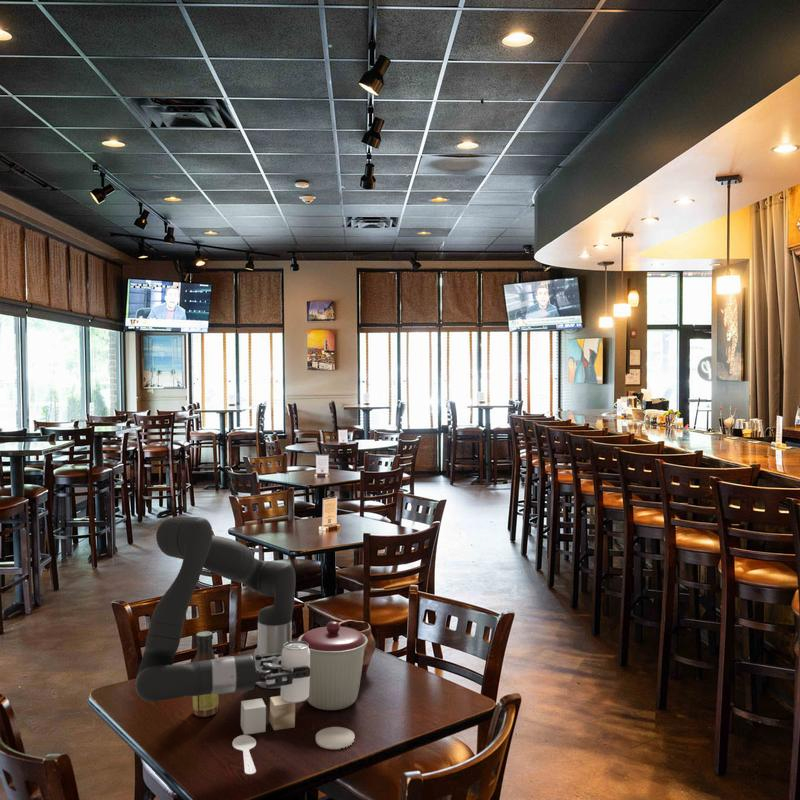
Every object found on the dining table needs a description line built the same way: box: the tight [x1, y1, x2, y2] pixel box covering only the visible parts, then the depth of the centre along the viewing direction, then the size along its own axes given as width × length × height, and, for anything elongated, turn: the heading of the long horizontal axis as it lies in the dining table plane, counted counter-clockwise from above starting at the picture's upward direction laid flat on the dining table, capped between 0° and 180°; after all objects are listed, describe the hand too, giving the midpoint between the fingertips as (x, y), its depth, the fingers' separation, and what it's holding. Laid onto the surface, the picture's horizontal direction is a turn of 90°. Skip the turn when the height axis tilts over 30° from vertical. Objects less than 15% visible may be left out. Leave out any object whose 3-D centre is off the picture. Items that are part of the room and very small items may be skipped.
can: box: [280, 640, 310, 704], centre depth 167 cm, size 6×6×12 cm
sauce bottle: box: [192, 630, 219, 718], centre depth 183 cm, size 7×6×20 cm
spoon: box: [231, 734, 257, 775], centre depth 163 cm, size 5×18×1 cm, turn 18°
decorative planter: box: [338, 619, 376, 676], centre depth 211 cm, size 20×12×14 cm, turn 29°
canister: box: [297, 620, 368, 711], centre depth 191 cm, size 18×18×21 cm
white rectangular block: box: [240, 698, 267, 735], centre depth 176 cm, size 5×5×6 cm
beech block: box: [269, 695, 296, 731], centre depth 178 cm, size 5×5×6 cm
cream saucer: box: [315, 726, 355, 750], centre depth 171 cm, size 9×9×1 cm
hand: (305, 665), depth 168 cm, fingers closed on can, 6 cm apart
